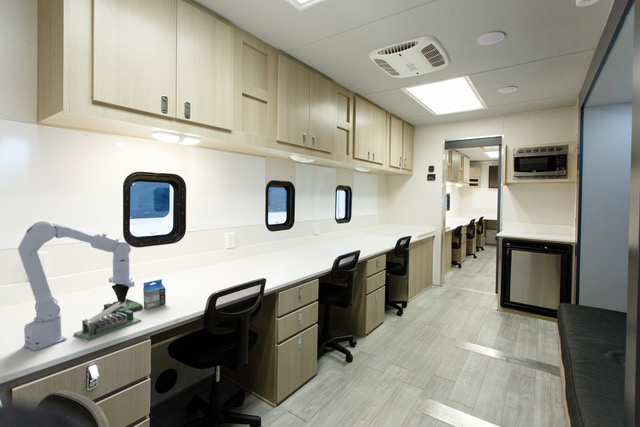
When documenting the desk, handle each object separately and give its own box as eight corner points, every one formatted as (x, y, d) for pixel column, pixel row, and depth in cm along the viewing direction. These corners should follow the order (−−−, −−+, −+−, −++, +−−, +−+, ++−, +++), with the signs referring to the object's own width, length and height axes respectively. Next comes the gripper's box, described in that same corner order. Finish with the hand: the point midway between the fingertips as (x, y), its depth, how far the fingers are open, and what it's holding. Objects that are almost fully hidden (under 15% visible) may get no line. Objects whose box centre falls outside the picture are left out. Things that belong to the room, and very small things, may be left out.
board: (88, 341, 110) (88, 330, 110) (73, 335, 114) (73, 324, 114) (141, 321, 128) (140, 311, 128) (126, 316, 132) (126, 307, 132)
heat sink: (91, 336, 112) (91, 323, 112) (81, 332, 115) (81, 320, 115) (127, 323, 124) (126, 311, 124) (117, 319, 127) (116, 308, 127)
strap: (90, 328, 114) (88, 323, 113) (86, 327, 115) (83, 322, 114) (127, 305, 126) (125, 301, 125) (122, 304, 127) (121, 299, 126)
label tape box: (147, 309, 141) (146, 284, 140) (143, 307, 143) (143, 282, 142) (165, 304, 148) (165, 280, 147) (162, 302, 150) (161, 278, 149)
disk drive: (103, 310, 140) (120, 317, 133) (103, 304, 140) (120, 311, 133) (126, 303, 149) (143, 309, 142) (126, 298, 149) (143, 303, 142)
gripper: (141, 269, 125) (141, 301, 125) (120, 265, 131) (121, 295, 132) (124, 273, 118) (124, 306, 119) (103, 268, 125) (103, 300, 125)
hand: (121, 301), depth 125 cm, fingers closed
